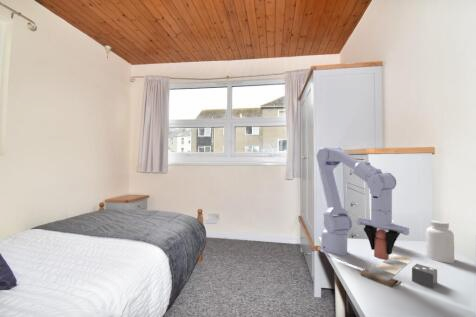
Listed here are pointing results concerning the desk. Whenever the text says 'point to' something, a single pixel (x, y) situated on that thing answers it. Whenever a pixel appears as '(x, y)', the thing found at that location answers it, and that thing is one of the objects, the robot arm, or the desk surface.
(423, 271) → the dark grey block
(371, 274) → the board
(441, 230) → the pill bottle
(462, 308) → the desk surface
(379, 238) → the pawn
